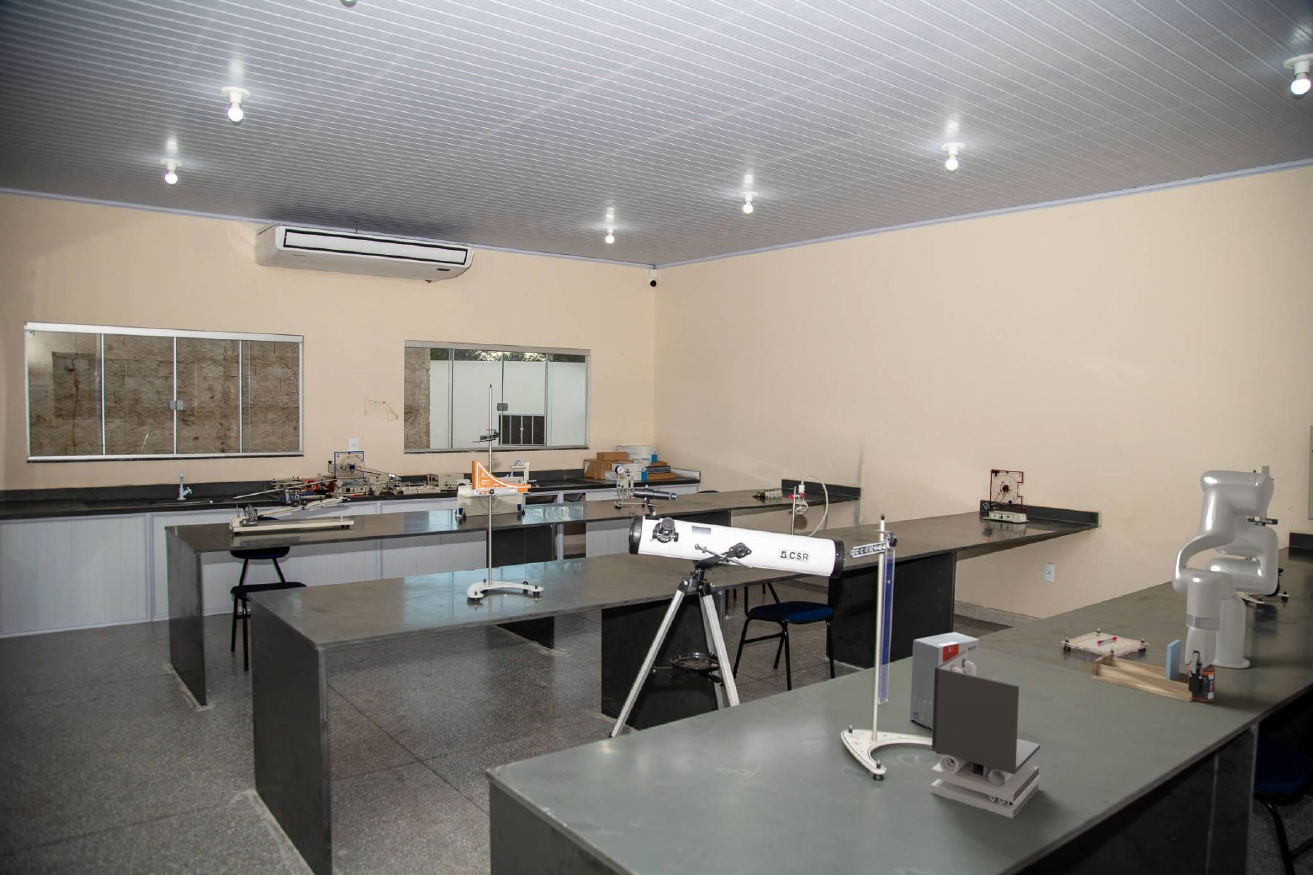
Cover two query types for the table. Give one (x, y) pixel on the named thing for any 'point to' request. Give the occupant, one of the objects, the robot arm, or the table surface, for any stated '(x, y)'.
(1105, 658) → the lane tray
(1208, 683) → the supplement bottle
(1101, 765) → the table surface
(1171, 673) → the pusher plate
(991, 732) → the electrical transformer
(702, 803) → the table surface
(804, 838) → the table surface
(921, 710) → the hard drive box
